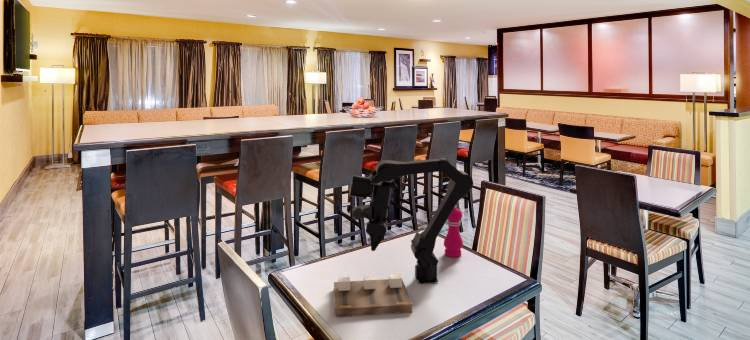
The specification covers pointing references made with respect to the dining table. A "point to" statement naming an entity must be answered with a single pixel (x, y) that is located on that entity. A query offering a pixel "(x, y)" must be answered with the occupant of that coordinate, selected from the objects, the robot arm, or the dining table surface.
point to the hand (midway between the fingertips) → (373, 245)
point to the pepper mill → (453, 234)
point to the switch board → (371, 299)
